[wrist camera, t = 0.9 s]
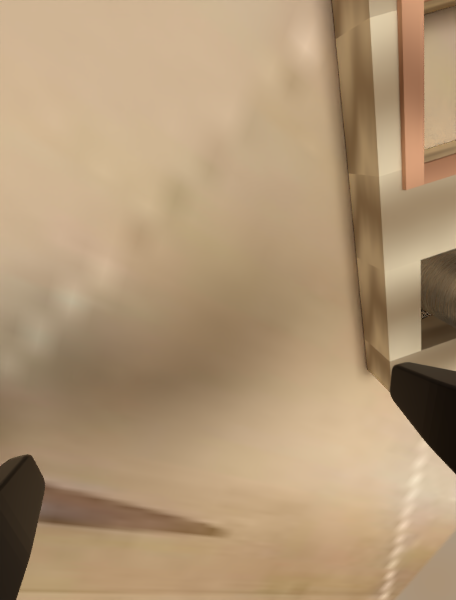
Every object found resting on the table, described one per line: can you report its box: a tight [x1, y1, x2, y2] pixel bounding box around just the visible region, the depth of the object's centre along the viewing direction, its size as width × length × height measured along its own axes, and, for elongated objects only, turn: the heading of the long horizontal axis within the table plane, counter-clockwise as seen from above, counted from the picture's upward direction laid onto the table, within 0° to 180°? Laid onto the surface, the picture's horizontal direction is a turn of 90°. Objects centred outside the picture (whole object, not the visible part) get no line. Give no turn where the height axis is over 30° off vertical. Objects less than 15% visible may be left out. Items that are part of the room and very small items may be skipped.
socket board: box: [332, 0, 456, 392], centre depth 20 cm, size 24×11×3 cm, turn 15°
